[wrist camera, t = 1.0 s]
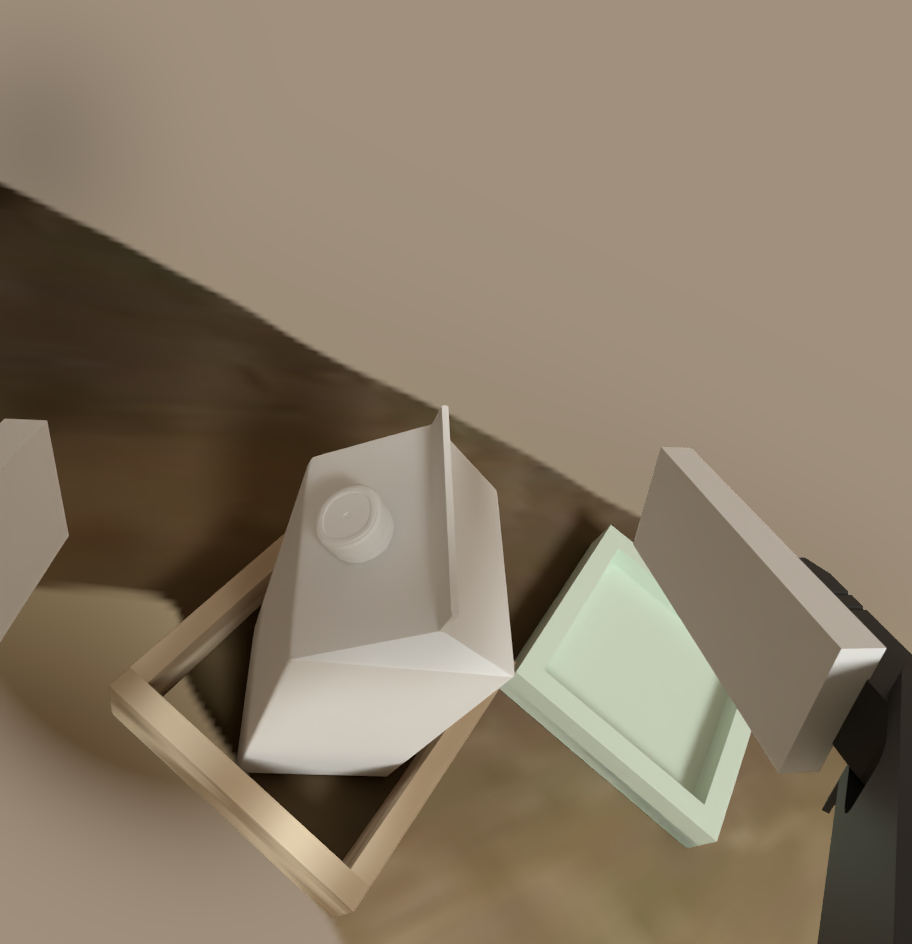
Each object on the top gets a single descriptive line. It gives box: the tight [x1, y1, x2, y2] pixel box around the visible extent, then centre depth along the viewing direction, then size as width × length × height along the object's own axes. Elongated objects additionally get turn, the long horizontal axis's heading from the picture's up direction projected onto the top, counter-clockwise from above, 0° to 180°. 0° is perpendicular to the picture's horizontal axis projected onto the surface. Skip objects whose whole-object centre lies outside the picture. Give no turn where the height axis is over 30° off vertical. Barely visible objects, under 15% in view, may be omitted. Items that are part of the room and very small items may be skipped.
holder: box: [109, 533, 516, 918], centre depth 32 cm, size 13×13×4 cm
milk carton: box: [236, 405, 515, 777], centre depth 26 cm, size 7×7×19 cm
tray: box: [499, 525, 751, 848], centre depth 40 cm, size 13×13×2 cm
